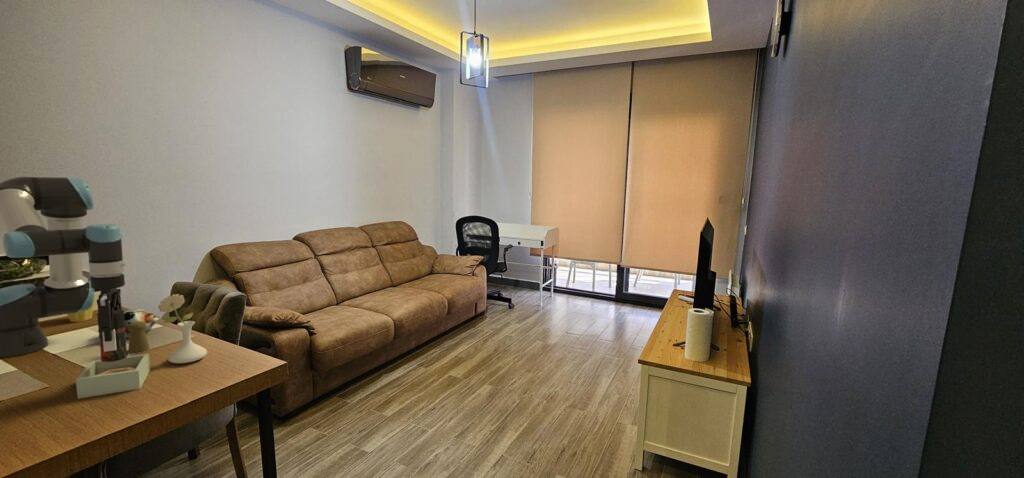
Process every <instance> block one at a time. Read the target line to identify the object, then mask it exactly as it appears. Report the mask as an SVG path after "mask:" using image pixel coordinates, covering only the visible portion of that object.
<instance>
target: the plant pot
mask: <svg viewBox="0 0 1024 478" xmlns="http://www.w3.org/2000/svg"><path fill="white" fill-rule="evenodd" d="M96 304H97V301H96V296H95V297H94V302H93V305H92V307H91V308H89V309H88V310H86V311H81V312H77V313H70V314H66V315H67V317H68V319H69V322H71V323H80V322H85V321H89V320H91V319H92V316H93V311H94V307H95V306H94V305H96Z"/></svg>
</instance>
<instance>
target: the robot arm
mask: <svg viewBox="0 0 1024 478" xmlns="http://www.w3.org/2000/svg"><path fill="white" fill-rule="evenodd" d="M94 206H95V203H94V197H93V194H92V191H91V188H90V186H89V184H88V182H86V181H85V180H84V179H83V178H76V177H75V178H73V177H59V176H58V177H54V176H53V177H51V176H48V177H47V176H46V177H45V176H43V177H42V176H41V177H40V176H17V177H13V178H9V179H6V180H4V181H2V182H0V218H1V220H2V223H3V225H4V227H5V228H6V230H7V232H6V233H4V235H3V236H2V237H3V238H2V242H3V250H4V252H5V255H6V256H7V257H8V258H11V259H21V258H25V259H30V258H36V257H37V258H38V257H46V256H47V257H48V264H49V267H48V268H49V277H48V278H46V279H45V280H44V282H43V286H38V287H36V285H35V284H33V283H26V284H25V283H23V284H17V285H11V286H5V287H2V288H1V287H0V358H1V359H3V358H10V357H11V358H12V357H17V356H23V355H26V354H31V353H34V352H37V351H40V350H42V349H45V348H47V347H48V346H49V340H48V337H47V335H46V334H45V333H44V331H43V330H42V328H41V327H40V322H39V320H40V319H45V318H51V317H56V316H62V315H67V314H70V313H77V312H81V311H86V310H88V309H89V308H91V307H92V305H93V302H94V297H95V298H96V296H95V294H96V291H95V290H98V291H99V292H100V294H98V298H97V299H96V304H97V312H98V313H97V314H98V317H99V328H98V330H97V332H98V333H99V332H102V335H103V346H104V352H106V351H114V350H116V349H117V348H116V336H115V329H114V328H113V322H114V317H113V314H114V310H118V309H120V310H123V309H122V308H123V307H122V306H123V305H122V299H121V298H122V297H121V294H122V293H121V288H122V287H124V286H125V285H126V282H125V281H126V280H125V275H124V274H123V273H124V267H126V263H125V262H124V261H123V260H124V259H123V246H122V244H123V243H122V237H123V236H122V233H121V226H119V224H118V225H117V224H116V223H115V224H112V223H101V224H100V223H99V224H90V225H87V226H86V227H83V228H82V219H83V218H85V217H87V215H88V211H91V210H93V209H94ZM37 211H40V215H41V216H42V217H44V218H45V219H47V227H46V225H45V224H44V222H43V220H42V218H41V217H40V215H39V214H38V212H37ZM87 253H88V254H87ZM83 254H87V255H88V268H89V276H91V277H90V280H89V279H88V277H87V276H85V275H83ZM98 317H97V318H98Z"/></svg>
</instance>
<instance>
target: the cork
mask: <svg viewBox="0 0 1024 478" xmlns="http://www.w3.org/2000/svg"><path fill="white" fill-rule="evenodd" d="M145 329H146V323H145V322H142V321H138V322H133V323H130V324H129V325H128V331H129V332H130V338H128V340H129V342H128V347H127V353H128V352H129V353H128V354H131V353H135V354H140V353H139V352H141V353H145V352H147V351H149V350H150V346H149V342H148V338H147V334H146V331H145ZM148 349H149V350H148ZM144 351H145V352H144Z"/></svg>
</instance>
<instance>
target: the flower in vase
mask: <svg viewBox="0 0 1024 478" xmlns="http://www.w3.org/2000/svg"><path fill="white" fill-rule="evenodd" d="M159 303H160V304H158V307H157V308H158V310H159V312H162V313H164V312H166V313H171V312H173V311H174V312H175V314H176V316H170V317H168V318H166V319H164V321H163V322H162V323H163V324H169V323H174V322H175V321H176V320H180V321H181V322H178V323H177V324H176V326H178V327H179V329H180V330H181V333H182V343H181V345H179V346H178V347H177V348H175V349H174V350H173V351H172V352H171V353H170V354H169V355H168V356H167V360H168V362H170V363H172V364H188V363H192V362H193V363H194V362H195V361H198V360H199V361H200V359H203V358H204V357H206V356H207V354H208V350H207V349H206V348H204V347H203V346H201V345H199V344H196V343H194V342H193V341H192V337H191V336H192V327H193V326H194V325H195V323H196V322H195V321H193V320H191V318H192V316H193V315H194V311H191V312H190V313H188V314H185V315H184V316H183V317H182V319H181V318H180V316H179V315H178V312H177V309H179V308H181V307H182V306H183V304H184V303H185V298H184V295H181V294H179V293H176V294H174V293H173V294H172V295H167V297H165V298H164V299H162V301H160V302H159Z"/></svg>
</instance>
